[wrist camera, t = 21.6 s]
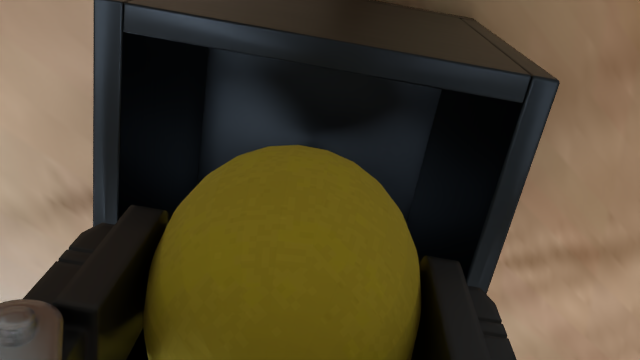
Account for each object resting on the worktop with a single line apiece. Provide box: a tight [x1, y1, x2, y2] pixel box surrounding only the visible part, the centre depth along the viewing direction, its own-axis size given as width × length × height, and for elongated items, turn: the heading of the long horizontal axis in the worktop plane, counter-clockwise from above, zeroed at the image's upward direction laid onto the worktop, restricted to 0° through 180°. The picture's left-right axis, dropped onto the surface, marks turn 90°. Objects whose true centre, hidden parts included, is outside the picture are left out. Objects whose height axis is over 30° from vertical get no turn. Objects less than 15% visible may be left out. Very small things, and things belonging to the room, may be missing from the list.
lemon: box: [143, 145, 422, 360], centre depth 12 cm, size 6×6×8 cm
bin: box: [93, 0, 559, 360], centre depth 23 cm, size 14×13×12 cm
